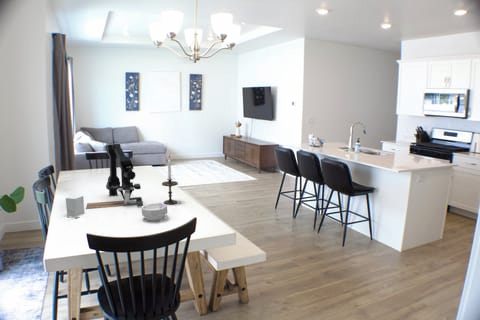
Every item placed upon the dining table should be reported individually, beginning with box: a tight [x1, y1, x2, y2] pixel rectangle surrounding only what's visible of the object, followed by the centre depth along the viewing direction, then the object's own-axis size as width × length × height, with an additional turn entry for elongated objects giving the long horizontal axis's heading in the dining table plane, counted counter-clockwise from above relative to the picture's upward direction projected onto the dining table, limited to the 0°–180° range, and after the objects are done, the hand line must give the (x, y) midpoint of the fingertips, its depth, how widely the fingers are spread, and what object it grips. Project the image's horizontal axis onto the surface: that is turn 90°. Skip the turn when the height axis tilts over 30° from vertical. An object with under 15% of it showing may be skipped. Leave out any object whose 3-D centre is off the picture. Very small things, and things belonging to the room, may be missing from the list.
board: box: [85, 199, 127, 210], centre depth 245 cm, size 14×25×2 cm, turn 109°
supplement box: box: [65, 194, 86, 220], centre depth 224 cm, size 7×7×13 cm
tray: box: [126, 196, 144, 208], centre depth 251 cm, size 14×11×3 cm
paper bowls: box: [141, 202, 168, 222], centre depth 221 cm, size 15×15×8 cm
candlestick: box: [161, 154, 179, 206], centre depth 252 cm, size 11×11×35 cm
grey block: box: [123, 190, 131, 205], centre depth 249 cm, size 10×3×9 cm, turn 19°
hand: (126, 199), depth 249 cm, fingers closed on grey block, 3 cm apart
